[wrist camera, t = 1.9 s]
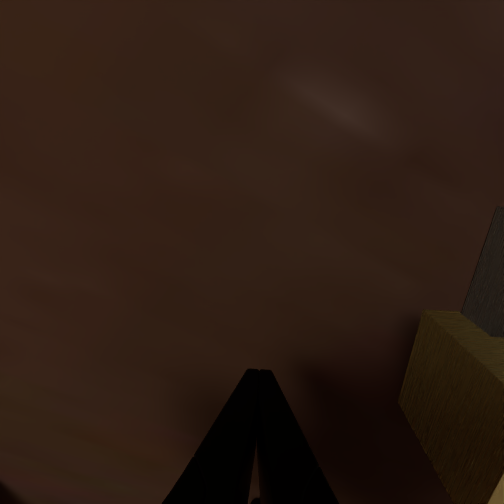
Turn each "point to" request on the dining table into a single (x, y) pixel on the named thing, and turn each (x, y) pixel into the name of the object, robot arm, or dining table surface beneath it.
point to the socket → (489, 283)
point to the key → (458, 404)
